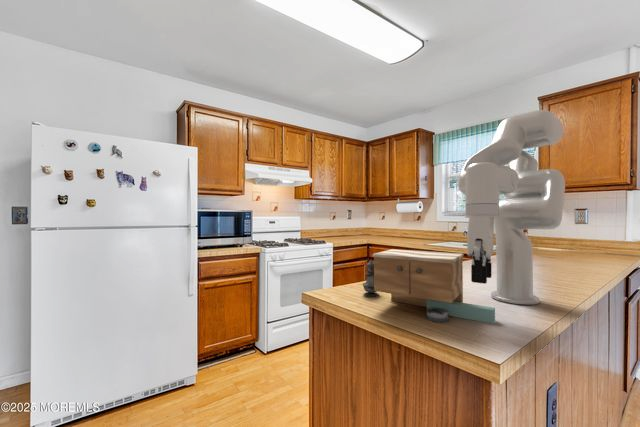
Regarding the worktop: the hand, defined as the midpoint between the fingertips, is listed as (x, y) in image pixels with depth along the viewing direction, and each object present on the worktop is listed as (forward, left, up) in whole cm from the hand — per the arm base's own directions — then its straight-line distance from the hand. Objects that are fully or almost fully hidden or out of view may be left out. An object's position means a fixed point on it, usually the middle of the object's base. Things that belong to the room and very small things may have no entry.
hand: (481, 279), depth 74 cm
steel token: (+6, -9, -10) cm, 15 cm away
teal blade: (0, -5, -10) cm, 12 cm away
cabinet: (+2, -15, -10) cm, 18 cm away
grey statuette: (-6, -33, -10) cm, 35 cm away
